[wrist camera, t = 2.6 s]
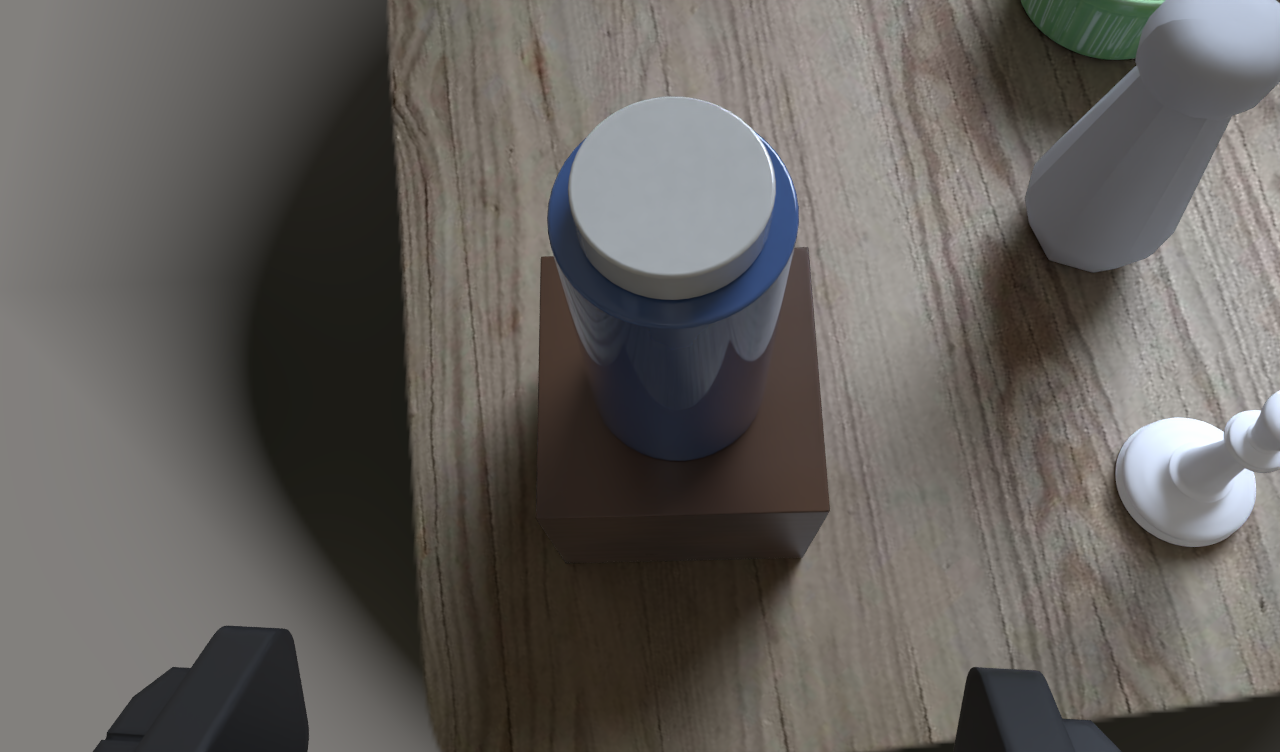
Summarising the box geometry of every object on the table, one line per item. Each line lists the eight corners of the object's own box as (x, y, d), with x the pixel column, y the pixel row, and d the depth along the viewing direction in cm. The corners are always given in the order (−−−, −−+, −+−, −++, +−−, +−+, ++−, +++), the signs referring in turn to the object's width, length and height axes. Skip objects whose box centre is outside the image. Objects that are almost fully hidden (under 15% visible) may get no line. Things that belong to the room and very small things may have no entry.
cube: (565, 563, 39) (535, 519, 31) (567, 344, 42) (540, 255, 35) (803, 557, 39) (830, 511, 31) (787, 336, 42) (808, 246, 34)
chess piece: (1272, 528, 38) (1462, 455, 29) (1147, 562, 38) (1297, 499, 29) (1214, 407, 40) (1375, 301, 30) (1094, 438, 40) (1219, 342, 30)
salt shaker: (1068, 143, 44) (1213, -89, 32) (1180, 225, 43) (1378, 14, 30) (981, 229, 43) (1097, 22, 31) (1093, 317, 41) (1262, 136, 29)
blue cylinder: (590, 464, 32) (536, 309, 21) (590, 300, 34) (541, 77, 23) (770, 459, 32) (815, 300, 20) (760, 294, 34) (796, 66, 22)
